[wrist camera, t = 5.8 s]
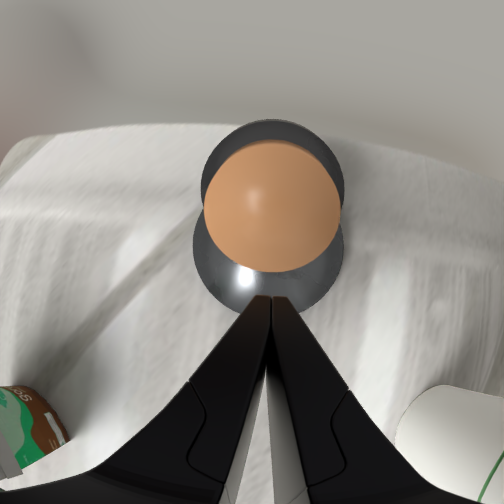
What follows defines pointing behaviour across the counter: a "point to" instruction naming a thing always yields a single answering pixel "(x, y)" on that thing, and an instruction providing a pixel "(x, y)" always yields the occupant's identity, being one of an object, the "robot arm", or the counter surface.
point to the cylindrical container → (456, 441)
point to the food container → (26, 429)
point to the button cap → (272, 206)
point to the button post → (257, 282)
